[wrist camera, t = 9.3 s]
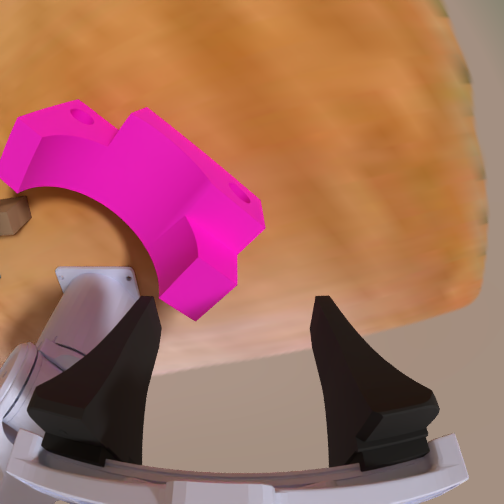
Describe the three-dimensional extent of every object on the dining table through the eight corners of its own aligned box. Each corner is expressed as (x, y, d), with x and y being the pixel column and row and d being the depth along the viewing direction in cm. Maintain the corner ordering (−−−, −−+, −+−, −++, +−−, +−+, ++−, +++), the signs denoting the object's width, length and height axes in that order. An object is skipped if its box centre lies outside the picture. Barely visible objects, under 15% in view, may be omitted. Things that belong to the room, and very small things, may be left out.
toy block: (260, 199, 22) (270, 255, 16) (205, 254, 25) (195, 321, 18) (99, 70, 17) (39, 75, 10) (55, 140, 19) (-5, 173, 12)
